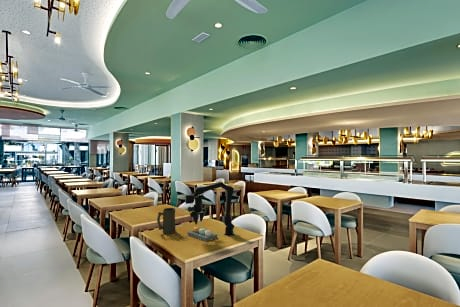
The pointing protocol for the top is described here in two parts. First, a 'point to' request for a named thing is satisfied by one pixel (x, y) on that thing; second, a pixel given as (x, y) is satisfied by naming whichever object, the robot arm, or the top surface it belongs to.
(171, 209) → the beer stein
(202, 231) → the button teal
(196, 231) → the button orange
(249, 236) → the top surface
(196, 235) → the console
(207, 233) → the button cream
